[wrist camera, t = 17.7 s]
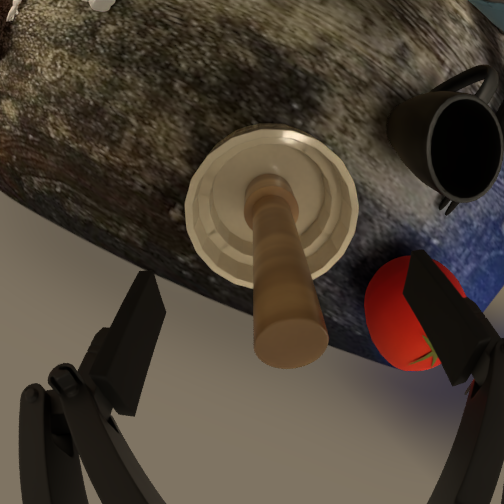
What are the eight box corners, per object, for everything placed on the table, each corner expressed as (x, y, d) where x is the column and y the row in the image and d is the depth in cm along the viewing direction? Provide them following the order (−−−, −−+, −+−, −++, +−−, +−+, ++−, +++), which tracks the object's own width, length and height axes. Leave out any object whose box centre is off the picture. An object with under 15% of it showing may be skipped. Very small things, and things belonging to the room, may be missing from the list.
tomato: (441, 279, 32) (492, 348, 21) (375, 325, 36) (407, 405, 25) (412, 213, 28) (482, 281, 17) (333, 271, 32) (367, 361, 20)
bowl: (170, 178, 27) (150, 199, 21) (289, 95, 23) (300, 93, 18) (251, 276, 32) (251, 313, 27) (360, 211, 28) (382, 238, 23)
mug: (467, 95, 21) (530, 107, 13) (418, 184, 27) (472, 222, 18) (412, 44, 20) (473, 34, 11) (358, 140, 25) (405, 164, 16)
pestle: (235, 190, 27) (212, 337, 11) (275, 164, 26) (314, 283, 10) (262, 227, 29) (273, 389, 13) (301, 202, 27) (361, 350, 12)
